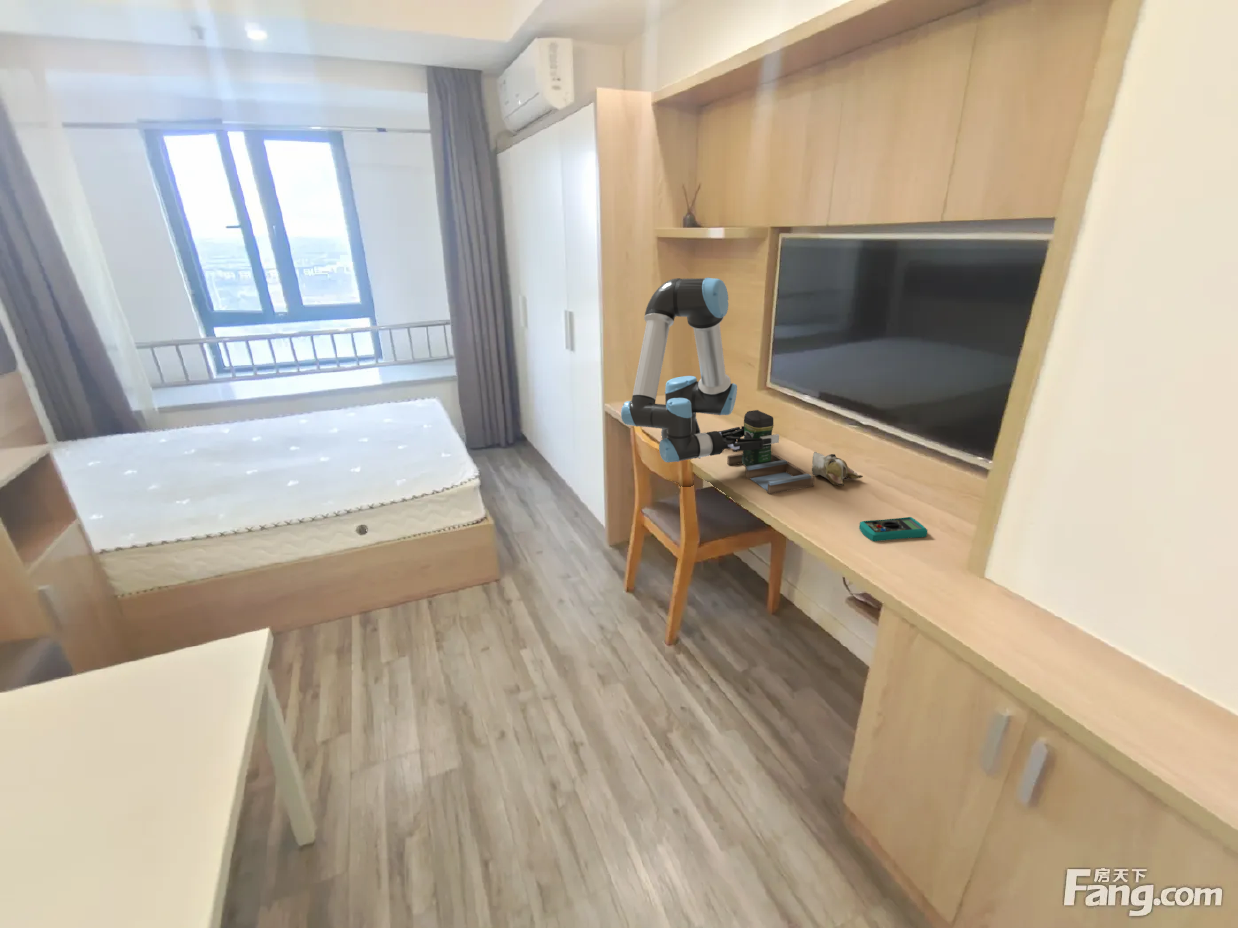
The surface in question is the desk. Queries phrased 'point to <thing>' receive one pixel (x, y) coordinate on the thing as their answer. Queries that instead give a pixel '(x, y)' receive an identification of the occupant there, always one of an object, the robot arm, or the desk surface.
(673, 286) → the robot arm
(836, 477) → the ceramic sculpture
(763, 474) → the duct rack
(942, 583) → the desk surface
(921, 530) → the digital multimeter
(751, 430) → the coffee jar
